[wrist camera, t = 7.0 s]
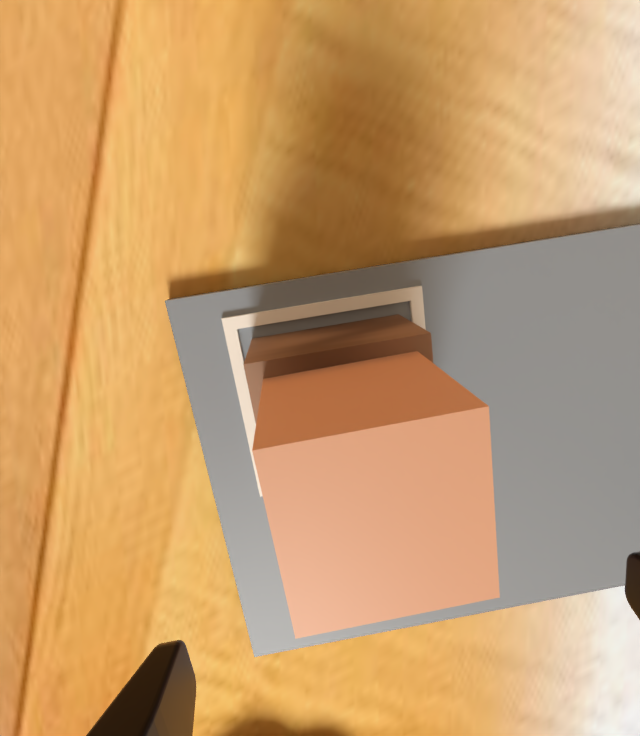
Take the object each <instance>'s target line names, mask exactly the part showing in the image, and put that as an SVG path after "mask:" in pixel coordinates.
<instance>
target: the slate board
mask: <svg viewBox="0 0 640 736" xmlns="http://www.w3.org/2000/svg"><path fill="white" fill-rule="evenodd" d="M165 303H166V307H167V311H168V315H169V319H170V323H171V327H172V331H173V335H174V339H175V343H176V347H177V351H178V355H179V359H180V363H181V367H182V371H183V375H184V379H185V383H186V387H187V391H188V395H189V399H190V403H191V407H192V411H193V414H194V418H195V422H196V426H197V430H198V434H199V438H200V442H201V446H202V450H203V454H204V458H205V462H206V466H207V470H208V474H209V478H210V482H211V486H212V490H213V494H214V498H215V502H216V506H217V510H218V514H219V518H220V522H221V526H222V530H223V534H224V538H225V542H226V546H227V550H228V554H229V558H230V562H231V566H232V569H233V573H234V577H235V581H236V585H237V589H238V593H239V597H240V601H241V605H242V609H243V613H244V617H245V621H246V625H247V629H248V633H249V637H250V641H251V645H252V649H253V653H254V657H257V656H262V655H267V654H272V653H277V652H283V651H288V650H293V649H298V648H303V647H308V646H314V645H319V644H324V643H329V642H334V641H339V640H345V639H350V638H355V637H360V636H365V635H370V634H376V633H381V632H386V631H391V630H396V629H401V628H407V627H412V626H417V625H422V624H427V623H432V622H438V621H443V620H448V619H453V618H458V617H463V616H469V615H474V614H479V613H484V612H489V611H494V610H500V609H505V608H510V607H515V606H520V605H525V604H531V603H536V602H541V601H546V600H551V599H556V598H562V597H567V596H572V595H577V594H582V593H587V592H593V591H598V590H603V589H608V588H613V587H618V586H624V585H625V578H626V561H627V557H628V556H629V554H631V553H634V552H639V551H640V224H634V225H627V226H621V227H615V228H609V229H602V230H596V231H590V232H584V233H578V234H571V235H565V236H559V237H553V238H546V239H540V240H534V241H528V242H521V243H515V244H509V245H503V246H497V247H490V248H484V249H478V250H472V251H465V252H459V253H453V254H447V255H441V256H434V257H428V258H422V259H416V260H409V261H403V262H397V263H391V264H384V265H378V266H372V267H366V268H360V269H353V270H347V271H341V272H335V273H328V274H322V275H316V276H310V277H303V278H297V279H291V280H285V281H279V282H272V283H266V284H260V285H254V286H247V287H241V288H235V289H229V290H223V291H216V292H210V293H204V294H198V295H191V296H185V297H179V298H173V299H168V300H166V301H165ZM397 314H399V315H401V316H403V317H404V318H406V319H408V320H409V321H411V322H413V323H415V324H416V325H418V326H420V327H422V328H423V329H425V330H427V331H428V332H430V333H431V339H432V352H433V363H434V364H435V365H436V366H437V367H439V368H440V369H441V370H443V371H444V372H445V373H446V374H448V375H449V376H450V377H452V378H453V379H454V380H456V381H457V382H458V383H459V384H461V385H462V386H463V387H465V388H466V389H467V390H469V391H470V392H471V393H472V394H474V395H475V396H476V397H478V398H479V399H480V400H481V401H483V402H484V403H485V404H487V405H488V406H489V416H490V433H491V451H492V468H493V486H494V504H495V521H496V539H497V556H498V574H499V592H500V598H495V599H490V600H485V601H480V602H475V603H470V604H465V605H460V606H455V607H450V608H445V609H440V610H435V611H431V612H426V613H421V614H416V615H411V616H406V617H401V618H396V619H391V620H386V621H381V622H376V623H371V624H366V625H362V626H357V627H352V628H347V629H342V630H337V631H332V632H327V633H322V634H317V635H312V636H307V637H302V638H297V639H295V635H294V630H293V626H292V622H291V617H290V613H289V608H288V604H287V600H286V595H285V591H284V587H283V582H282V578H281V574H280V569H279V565H278V561H277V556H276V552H275V548H274V543H273V539H272V535H271V530H270V526H269V522H268V517H267V513H266V508H265V504H264V500H263V495H262V491H261V487H260V482H259V478H258V474H257V469H256V465H255V461H254V456H253V452H252V448H253V442H254V435H255V429H256V423H255V418H254V413H253V408H252V403H251V399H250V394H249V389H248V384H247V380H246V375H245V370H244V365H243V364H244V361H245V358H246V355H247V352H248V349H249V346H250V343H251V340H252V338H258V337H264V336H270V335H276V334H282V333H288V332H294V331H300V330H306V329H312V328H318V327H324V326H330V325H336V324H342V323H348V322H354V321H360V320H366V319H372V318H379V317H385V316H391V315H397Z"/></svg>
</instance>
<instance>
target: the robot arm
mask: <svg viewBox="0 0 640 736" xmlns="http://www.w3.org/2000/svg"><path fill="white" fill-rule="evenodd" d="M625 594H626V598H627V601H628V603H629V605H630V606H631V608H632V609H633V611H634V612H635V614H636V615H637V617H638V618H639V620H640V551H639V552H634V553H631V554H629V556H628V557H627V561H626V578H625ZM195 698H196V679H195V674H194V671H193V668H192V664H191V661H190V658H189V655H188V651H187V648H186V645H185V643H184V642H183V641H181V640H177V641H171V642H166V643H161V644H159V645H157V646H156V647H155V648H154V649H153V650H152V652H151V653H150V654H149V656H148V657H147V658H146V659H145V661H144V662H143V663H142V665H141V666H140V667H139V668H138V670H137V671H136V672H135V674H134V675H133V676H132V677H131V679H130V680H129V681H128V683H127V684H126V685H125V686H124V688H123V689H122V690H121V692H120V693H119V694H118V695H117V697H116V698H115V699H114V701H113V702H112V703H111V704H110V706H109V707H108V708H107V710H106V711H105V712H104V713H103V715H102V716H101V717H100V719H99V720H98V721H97V722H96V724H95V725H94V726H93V728H92V729H91V730H90V731H89V733H88V734H87V735H86V736H192V733H193V721H194V710H195Z"/></svg>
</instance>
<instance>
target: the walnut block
mask: <svg viewBox="0 0 640 736" xmlns="http://www.w3.org/2000/svg"><path fill="white" fill-rule="evenodd" d="M415 351H418V352H419V353H421V354H422V355H423V356H424V357H426V358H427V359H428V360H430V361H431V362H432V363H433V352H432V339H431V333H430V332H428V331H427V330H425V329H423V328H422V327H420V326H418V325H416V324H415V323H413V322H411V321H409V320H408V319H406V318H404V317H403V316H401V315H399V314H397V315H391V316H385V317H379V318H372V319H366V320H360V321H354V322H348V323H342V324H336V325H330V326H324V327H318V328H312V329H306V330H300V331H294V332H288V333H282V334H276V335H270V336H264V337H258V338H252V340H251V343H250V346H249V349H248V352H247V355H246V358H245V361H244V364H243V365H244V370H245V375H246V380H247V384H248V389H249V394H250V399H251V403H252V408H253V413H254V418H255V423H256V422H257V415H258V409H259V402H260V396H261V389H262V382H263V379H266V378H271V377H277V376H282V375H288V374H293V373H299V372H304V371H310V370H315V369H321V368H326V367H332V366H337V365H343V364H348V363H354V362H359V361H365V360H371V359H376V358H382V357H387V356H393V355H398V354H404V353H409V352H415Z"/></svg>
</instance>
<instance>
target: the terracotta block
mask: <svg viewBox="0 0 640 736" xmlns="http://www.w3.org/2000/svg"><path fill="white" fill-rule="evenodd" d="M252 452H253V456H254V461H255V465H256V469H257V474H258V478H259V482H260V487H261V491H262V495H263V500H264V504H265V508H266V513H267V517H268V522H269V526H270V530H271V535H272V539H273V543H274V548H275V552H276V556H277V561H278V565H279V569H280V574H281V578H282V582H283V587H284V591H285V595H286V600H287V604H288V608H289V613H290V617H291V622H292V626H293V630H294V635H295V639H297V638H302V637H307V636H312V635H317V634H322V633H327V632H332V631H337V630H342V629H347V628H352V627H357V626H362V625H366V624H371V623H376V622H381V621H386V620H391V619H396V618H401V617H406V616H411V615H416V614H421V613H426V612H431V611H435V610H440V609H445V608H450V607H455V606H460V605H465V604H470V603H475V602H480V601H485V600H490V599H495V598H500V592H499V574H498V556H497V539H496V521H495V504H494V486H493V468H492V451H491V433H490V416H489V406H488V405H487V404H485V403H484V402H483V401H481V400H480V399H479V398H478V397H476V396H475V395H474V394H472V393H471V392H470V391H469V390H467V389H466V388H465V387H463V386H462V385H461V384H459V383H458V382H457V381H456V380H454V379H453V378H452V377H450V376H449V375H448V374H446V373H445V372H444V371H443V370H441V369H440V368H439V367H437V366H436V365H435V364H434V363H432V362H431V361H430V360H428V359H427V358H426V357H424V356H423V355H422V354H421V353H419V352H418V351H415V352H409V353H404V354H398V355H393V356H387V357H382V358H376V359H371V360H365V361H359V362H354V363H348V364H343V365H337V366H332V367H326V368H321V369H315V370H310V371H304V372H299V373H293V374H288V375H282V376H277V377H271V378H266V379H263V382H262V389H261V396H260V402H259V409H258V415H257V422H256V429H255V435H254V442H253V448H252Z"/></svg>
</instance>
